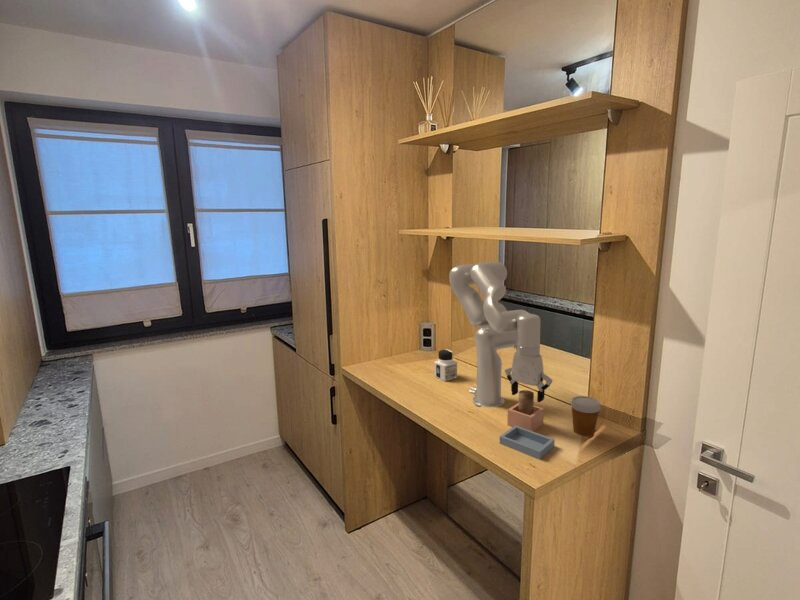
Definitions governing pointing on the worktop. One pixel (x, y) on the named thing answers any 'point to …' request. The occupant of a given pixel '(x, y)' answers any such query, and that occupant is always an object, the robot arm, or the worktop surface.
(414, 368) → the worktop surface
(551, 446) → the tray
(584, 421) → the disposable coffee cup
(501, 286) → the robot arm
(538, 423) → the terracotta open box
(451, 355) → the container
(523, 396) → the peg
